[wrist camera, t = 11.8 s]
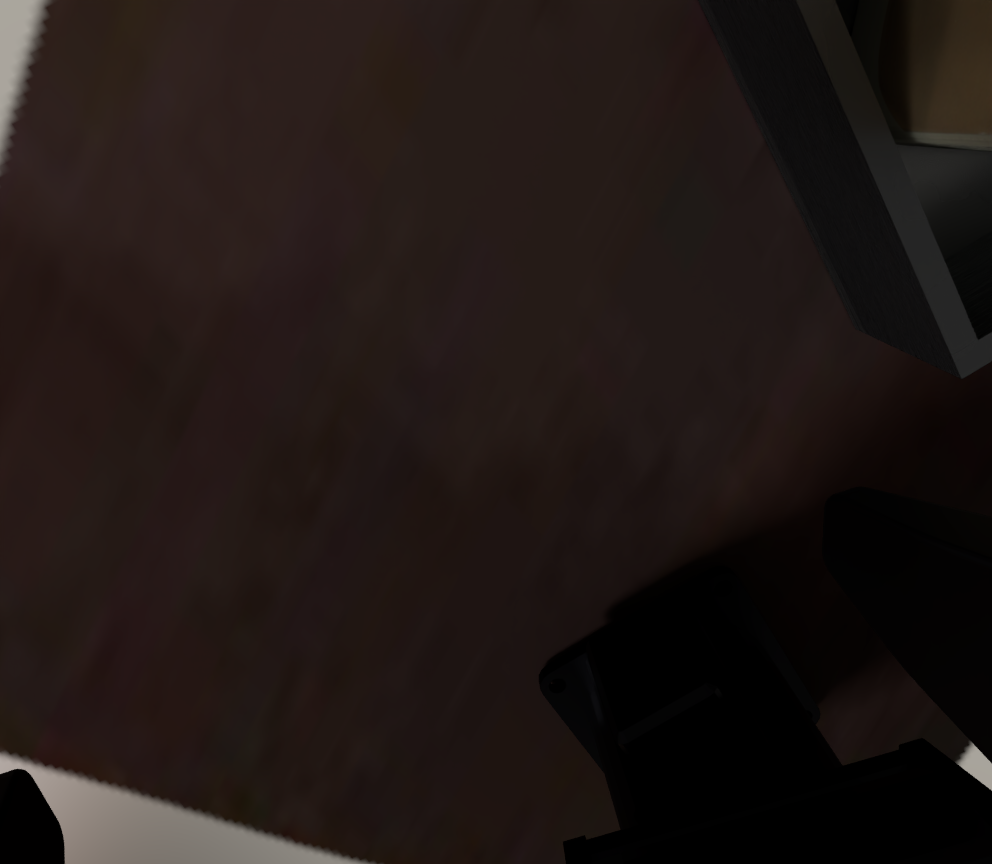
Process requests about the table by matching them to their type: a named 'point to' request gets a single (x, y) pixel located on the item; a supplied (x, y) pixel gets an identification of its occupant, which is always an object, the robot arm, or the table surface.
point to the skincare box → (930, 69)
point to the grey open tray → (867, 182)
